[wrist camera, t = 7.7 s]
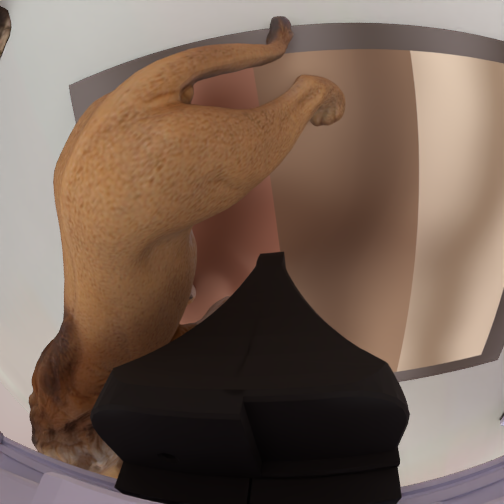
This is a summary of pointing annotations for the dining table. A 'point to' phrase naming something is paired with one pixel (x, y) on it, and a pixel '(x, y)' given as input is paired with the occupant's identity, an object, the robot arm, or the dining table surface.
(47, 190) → the dining table surface
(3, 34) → the radio
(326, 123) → the lion figurine
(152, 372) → the robot arm
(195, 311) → the board
